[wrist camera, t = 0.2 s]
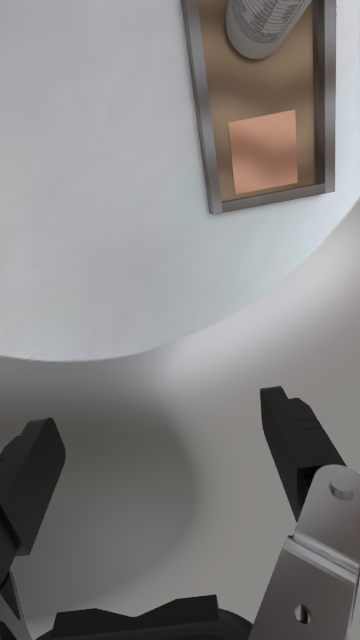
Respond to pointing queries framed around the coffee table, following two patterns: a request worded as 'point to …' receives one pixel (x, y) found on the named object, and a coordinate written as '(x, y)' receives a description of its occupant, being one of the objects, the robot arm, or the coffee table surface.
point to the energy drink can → (261, 24)
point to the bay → (264, 108)
